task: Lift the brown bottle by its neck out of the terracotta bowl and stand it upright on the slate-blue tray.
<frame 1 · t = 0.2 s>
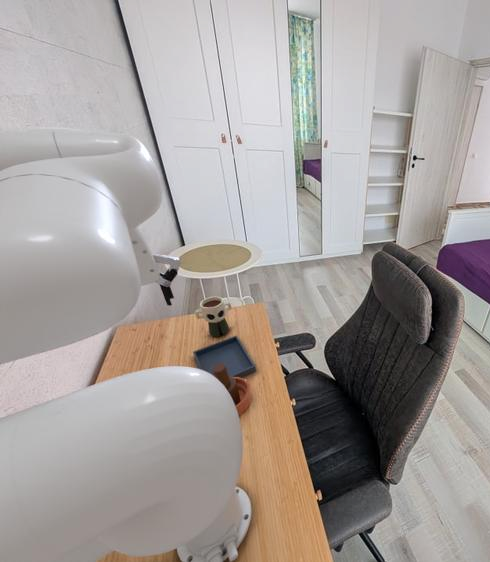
hand: (137, 310, 51), 37 cm above the table, tool pointing down, fingers open, 9 cm apart
bottle: (229, 402, 77), resting on bowl
character mug: (220, 332, 101), on the table
tray: (225, 364, 88), on the table
bowl: (229, 403, 77), on the table
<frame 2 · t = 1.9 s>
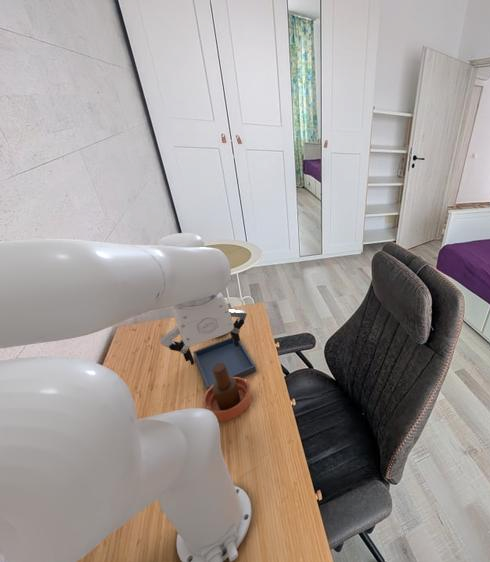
hand: (214, 351, 68), 19 cm above the table, tool pointing down, fingers open, 9 cm apart
nothing on the table moved.
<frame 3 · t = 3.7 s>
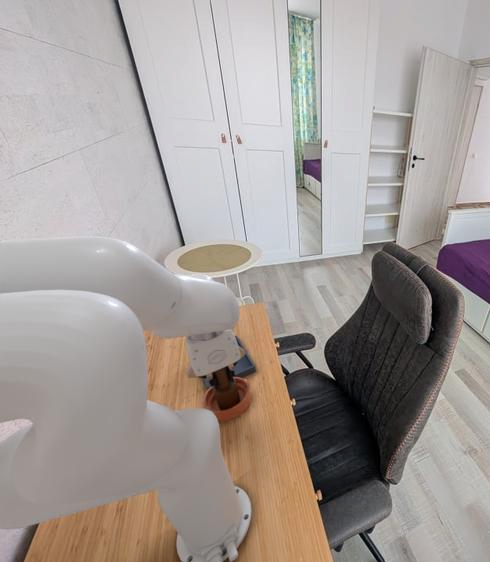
hand: (223, 382, 72), 9 cm above the table, tool pointing down, fingers closed on bottle, 3 cm apart
bottle: (229, 402, 77), resting on bowl, touching gripper
everything else where it was.
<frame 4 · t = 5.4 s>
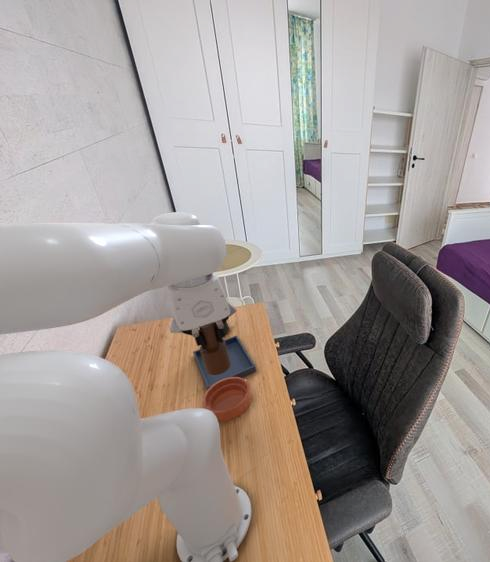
hand: (211, 342, 66), 22 cm above the table, tool pointing down, fingers closed on bottle, 3 cm apart
bottle: (218, 366, 71), point 13 cm above the table, touching gripper
everything else where it was.
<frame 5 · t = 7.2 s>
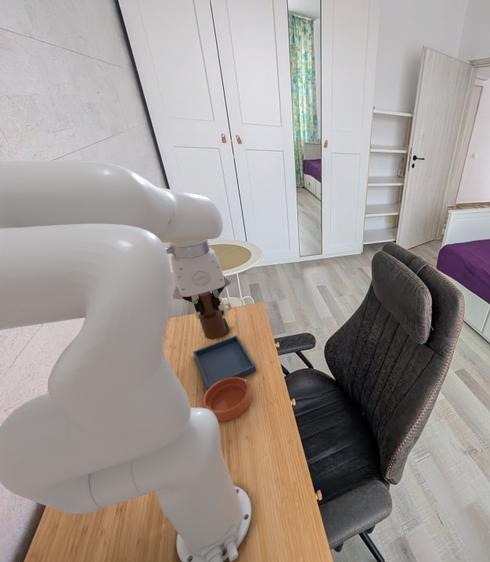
hand: (208, 310, 76), 22 cm above the table, tool pointing down, fingers closed on bottle, 3 cm apart
bottle: (215, 332, 80), point 14 cm above the table, touching gripper
everything else where it was.
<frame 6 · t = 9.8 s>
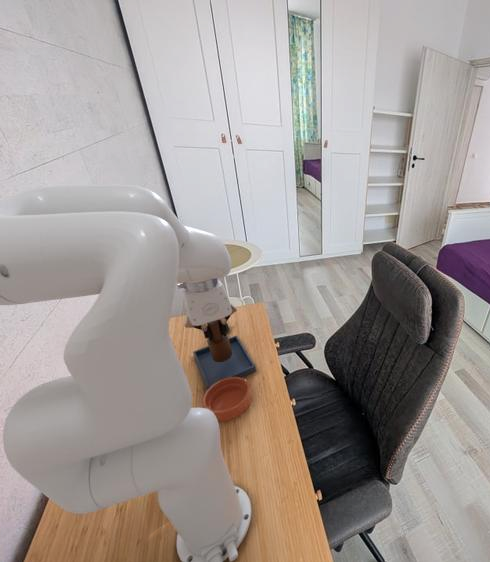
hand: (216, 335, 82), 12 cm above the table, tool pointing down, fingers closed on bottle, 3 cm apart
bottle: (222, 355, 86), point 4 cm above the table, touching gripper
everything else where it was.
when the fingers open (9 cm above the table, at t = 11.1 s): bottle stays where it is, resting on tray.
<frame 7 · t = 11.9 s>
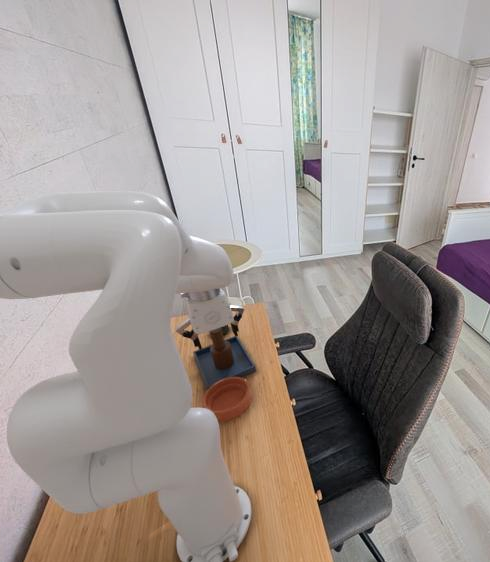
hand: (218, 340, 83), 10 cm above the table, tool pointing down, fingers open, 9 cm apart
bottle: (224, 363, 88), point 1 cm above the table, touching tray
everything else where it was.
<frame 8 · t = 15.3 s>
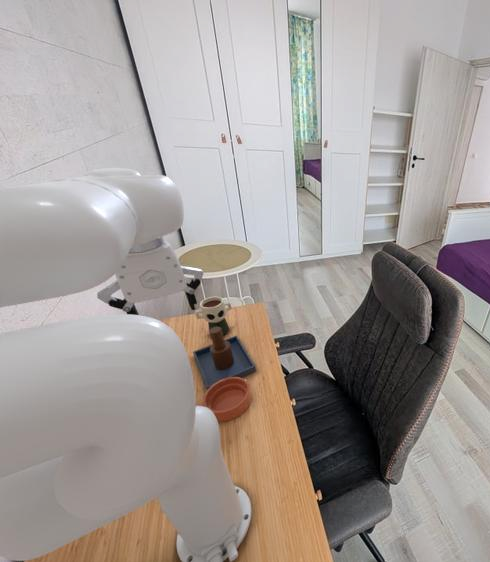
hand: (167, 314, 61), 30 cm above the table, tool pointing down, fingers open, 9 cm apart
nothing on the table moved.
at the end: bottle inside the target area in the tray (0.0 cm from its centre), point 0.6 cm above the tray's base; bottle tilted 0°; the gripper is holding nothing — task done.
